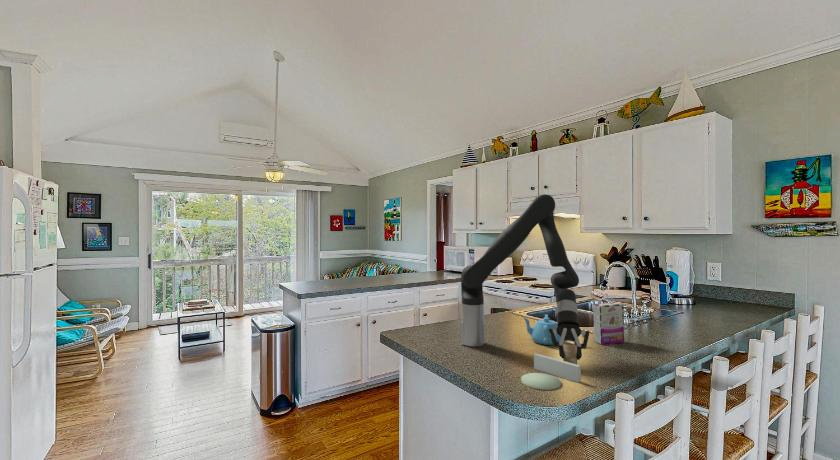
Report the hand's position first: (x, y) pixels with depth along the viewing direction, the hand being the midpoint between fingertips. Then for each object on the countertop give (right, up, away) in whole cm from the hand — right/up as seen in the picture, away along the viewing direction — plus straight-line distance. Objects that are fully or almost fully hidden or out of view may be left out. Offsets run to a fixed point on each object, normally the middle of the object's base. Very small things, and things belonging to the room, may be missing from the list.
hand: (570, 357), depth 127 cm
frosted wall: (-6, -4, -4) cm, 9 cm away
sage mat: (-13, -4, -10) cm, 17 cm away
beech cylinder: (+1, -4, +2) cm, 4 cm away
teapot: (+3, -5, +34) cm, 35 cm away
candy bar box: (+29, -4, +31) cm, 42 cm away
